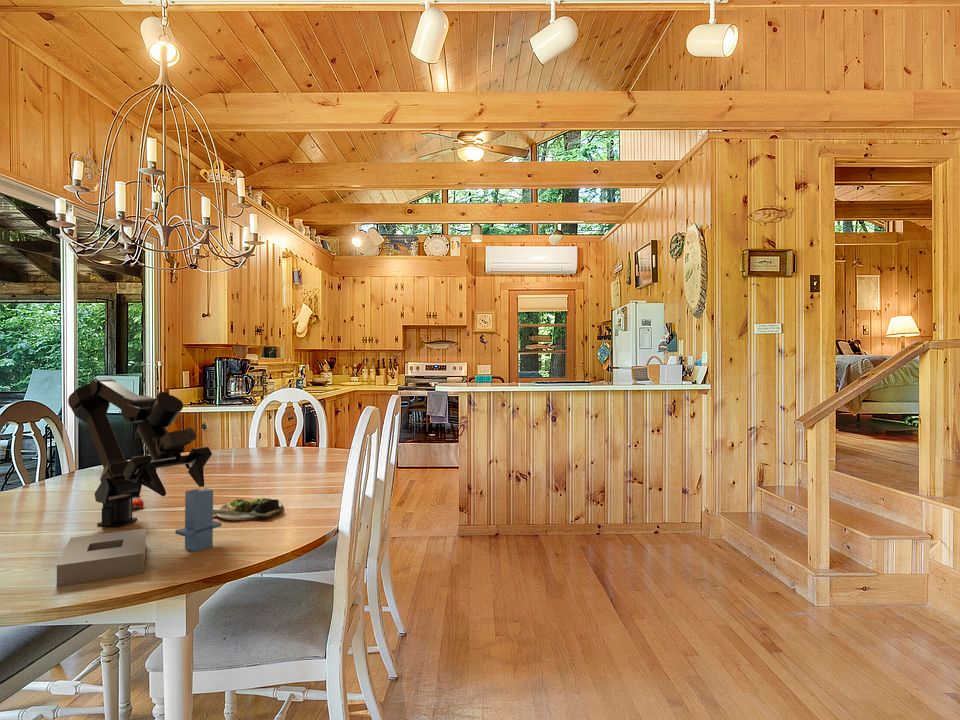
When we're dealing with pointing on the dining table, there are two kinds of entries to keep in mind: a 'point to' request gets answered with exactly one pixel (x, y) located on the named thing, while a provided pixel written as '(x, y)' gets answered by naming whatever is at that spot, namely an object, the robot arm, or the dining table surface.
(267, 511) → the salad plate
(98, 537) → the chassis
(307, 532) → the dining table surface
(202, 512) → the servo
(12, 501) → the dining table surface
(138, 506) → the race car
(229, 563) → the dining table surface
